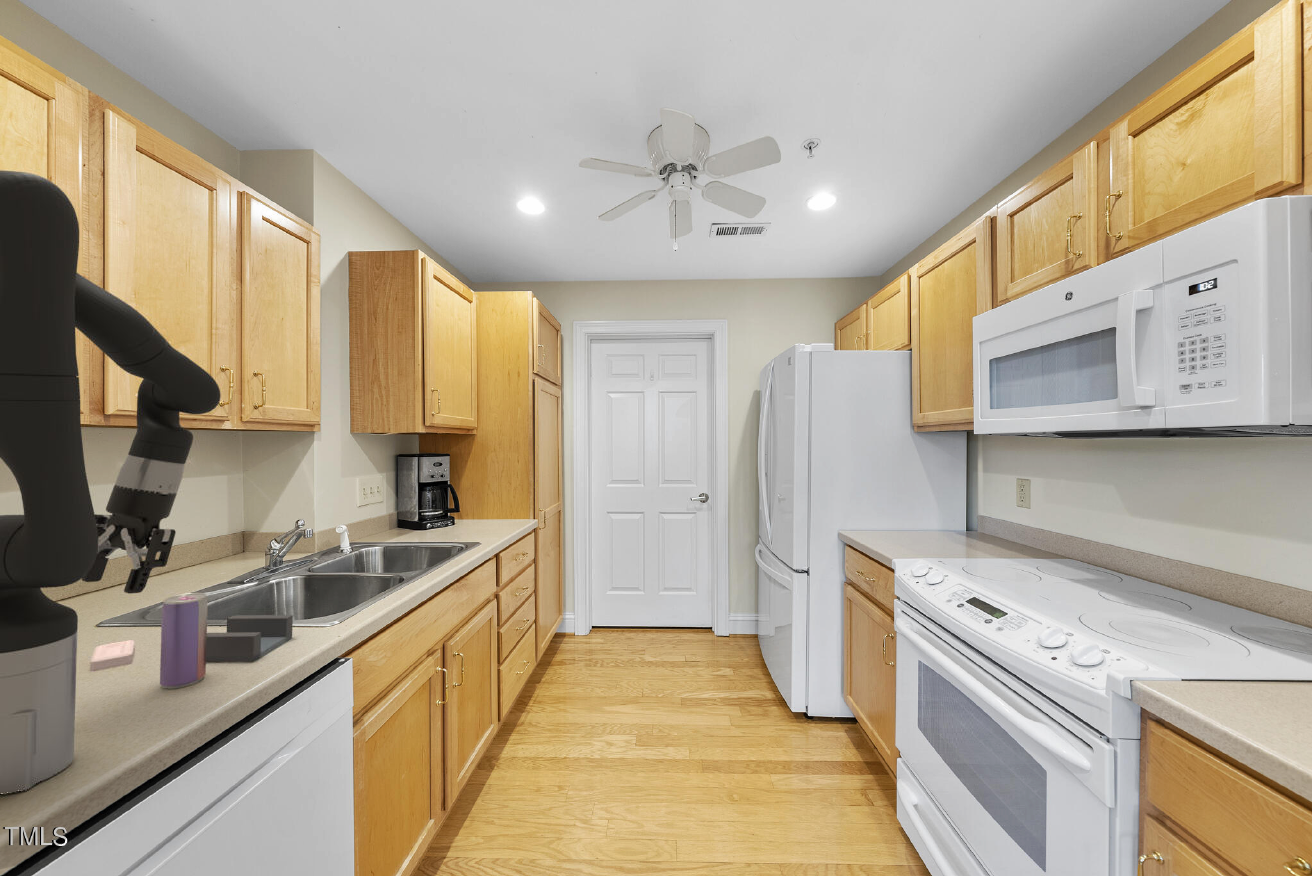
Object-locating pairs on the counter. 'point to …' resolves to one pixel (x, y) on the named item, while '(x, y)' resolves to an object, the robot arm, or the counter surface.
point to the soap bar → (112, 655)
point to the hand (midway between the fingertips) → (111, 586)
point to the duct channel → (248, 638)
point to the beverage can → (183, 640)
